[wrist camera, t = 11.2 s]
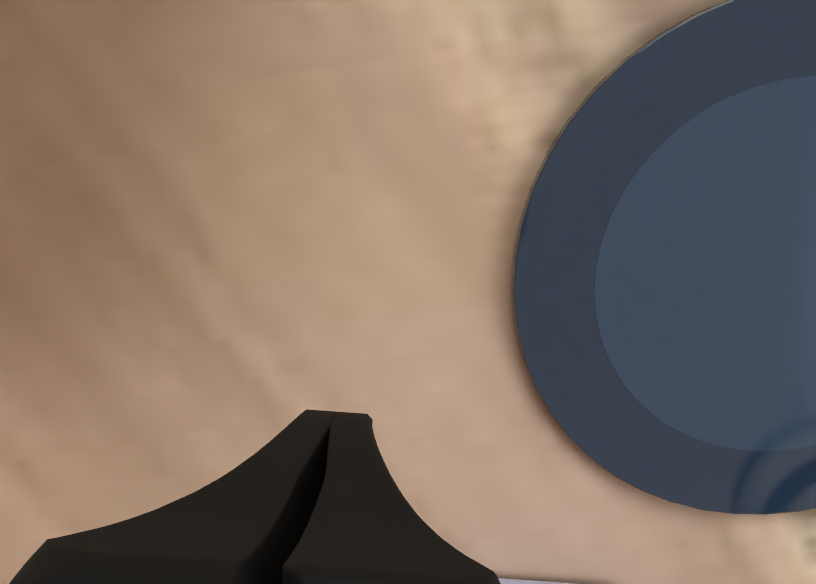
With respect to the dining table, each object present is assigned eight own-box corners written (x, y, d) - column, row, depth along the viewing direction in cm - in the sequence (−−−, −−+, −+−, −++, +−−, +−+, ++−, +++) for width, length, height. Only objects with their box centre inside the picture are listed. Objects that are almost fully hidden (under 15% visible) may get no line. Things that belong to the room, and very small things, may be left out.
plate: (970, 523, 25) (981, 532, 24) (486, 489, 25) (488, 497, 25) (1156, 2, 20) (1175, 0, 19) (546, -39, 20) (549, -42, 19)
